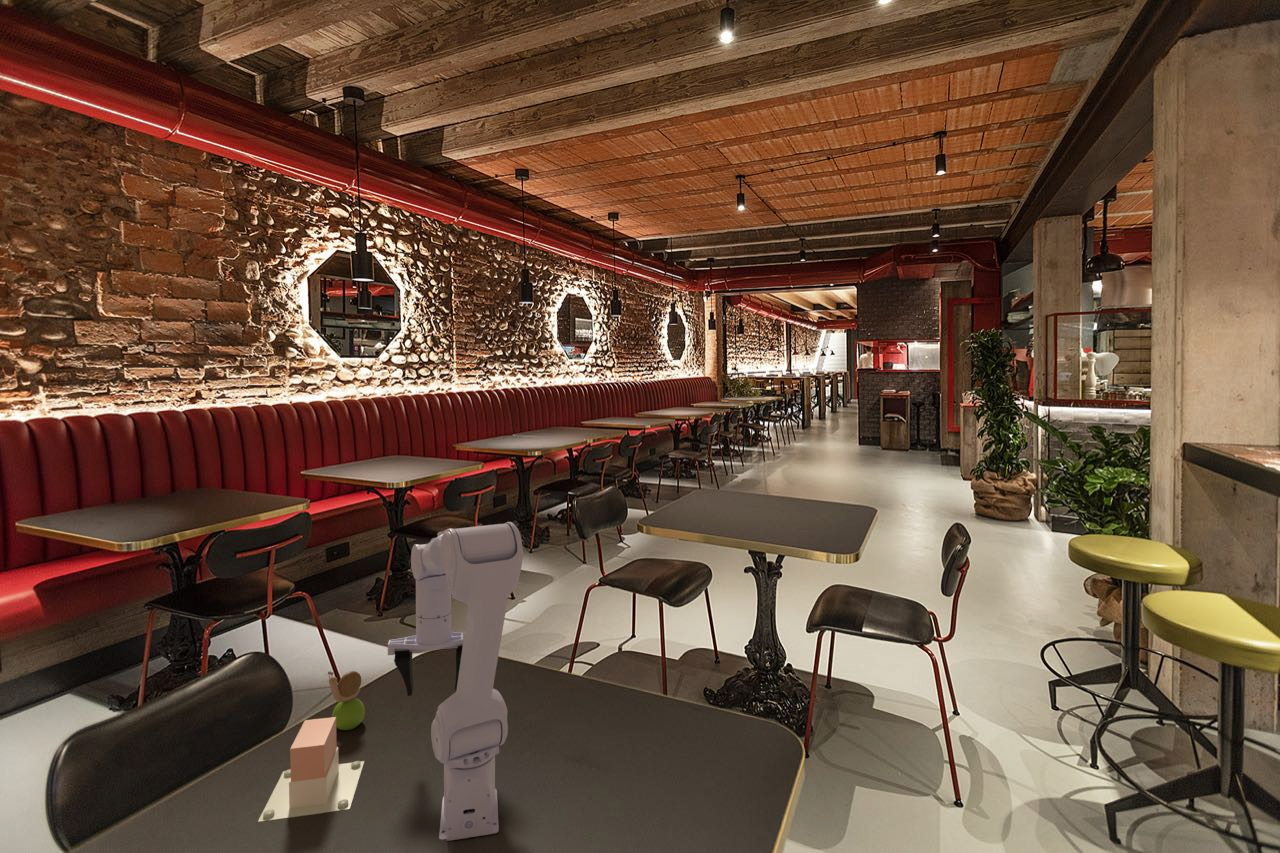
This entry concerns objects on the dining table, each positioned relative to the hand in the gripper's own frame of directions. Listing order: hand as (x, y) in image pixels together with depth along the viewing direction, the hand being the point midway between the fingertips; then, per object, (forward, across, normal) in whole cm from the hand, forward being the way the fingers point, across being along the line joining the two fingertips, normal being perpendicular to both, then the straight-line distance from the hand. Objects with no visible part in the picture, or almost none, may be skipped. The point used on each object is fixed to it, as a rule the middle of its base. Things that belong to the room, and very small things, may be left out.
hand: (434, 690), depth 107 cm
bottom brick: (+10, +17, +8) cm, 21 cm away
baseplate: (+10, +17, +8) cm, 21 cm away
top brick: (+6, +17, +8) cm, 19 cm away
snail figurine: (+11, +16, -10) cm, 22 cm away
